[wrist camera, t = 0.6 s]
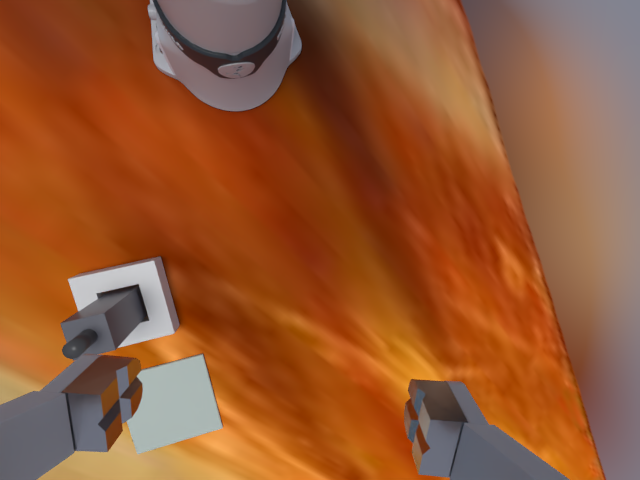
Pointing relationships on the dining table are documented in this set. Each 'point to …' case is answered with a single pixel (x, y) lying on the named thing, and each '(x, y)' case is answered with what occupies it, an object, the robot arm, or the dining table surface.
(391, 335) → the dining table surface
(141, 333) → the socket block
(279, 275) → the dining table surface
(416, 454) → the robot arm
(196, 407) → the mat
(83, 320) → the plug
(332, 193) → the dining table surface
